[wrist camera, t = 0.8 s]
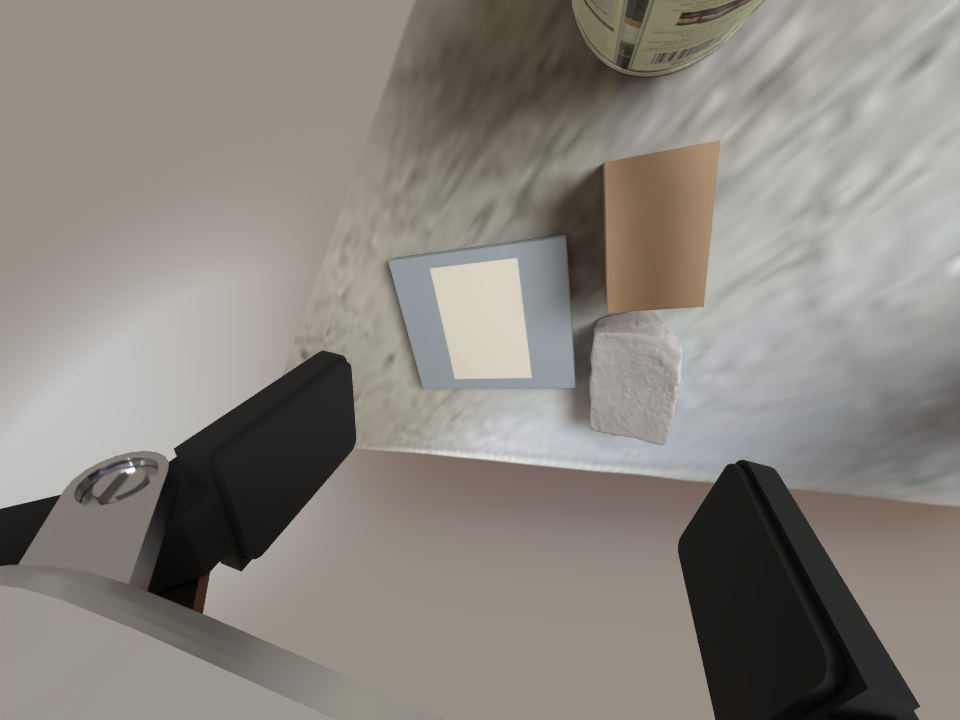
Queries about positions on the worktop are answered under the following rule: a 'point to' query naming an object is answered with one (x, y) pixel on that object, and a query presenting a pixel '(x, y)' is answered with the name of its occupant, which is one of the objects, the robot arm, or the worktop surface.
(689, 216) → the walnut block
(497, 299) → the board
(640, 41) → the coffee can
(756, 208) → the worktop surface
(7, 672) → the robot arm
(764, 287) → the worktop surface
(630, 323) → the rough stone chunk
